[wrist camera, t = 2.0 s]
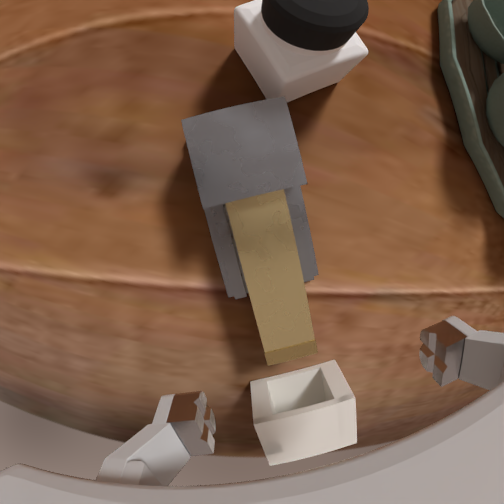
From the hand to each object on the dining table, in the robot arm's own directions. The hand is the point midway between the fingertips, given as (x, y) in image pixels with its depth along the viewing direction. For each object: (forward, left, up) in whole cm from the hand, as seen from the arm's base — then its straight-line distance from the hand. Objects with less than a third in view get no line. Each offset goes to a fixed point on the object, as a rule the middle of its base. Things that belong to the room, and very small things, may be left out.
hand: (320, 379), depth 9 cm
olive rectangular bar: (0, +1, -16) cm, 16 cm away
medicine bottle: (+6, +17, -17) cm, 25 cm away
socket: (0, -15, -17) cm, 23 cm away
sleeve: (0, +5, -17) cm, 18 cm away
